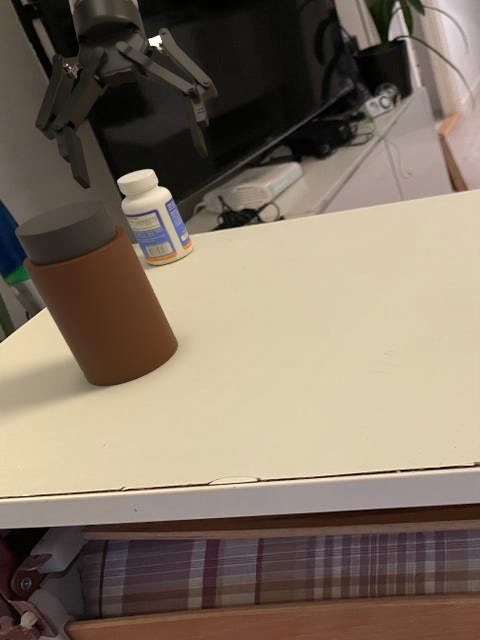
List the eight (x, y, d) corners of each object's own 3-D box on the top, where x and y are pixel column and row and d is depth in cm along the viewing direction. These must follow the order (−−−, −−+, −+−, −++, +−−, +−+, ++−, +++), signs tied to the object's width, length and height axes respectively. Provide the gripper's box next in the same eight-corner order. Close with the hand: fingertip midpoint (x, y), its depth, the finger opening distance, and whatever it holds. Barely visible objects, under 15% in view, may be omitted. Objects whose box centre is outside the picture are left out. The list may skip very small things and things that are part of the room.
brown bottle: (66, 385, 66) (-17, 242, 59) (126, 336, 72) (57, 201, 66) (140, 386, 63) (62, 235, 56) (195, 334, 70) (131, 193, 63)
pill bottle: (177, 243, 93) (142, 165, 88) (203, 247, 89) (169, 166, 84) (138, 263, 89) (100, 183, 84) (164, 268, 86) (126, 185, 81)
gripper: (218, 10, 98) (258, 155, 93) (18, 59, 95) (48, 210, 90) (199, -34, 91) (241, 120, 86) (-18, 18, 88) (12, 180, 83)
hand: (142, 167), depth 88 cm, fingers open, 13 cm apart
